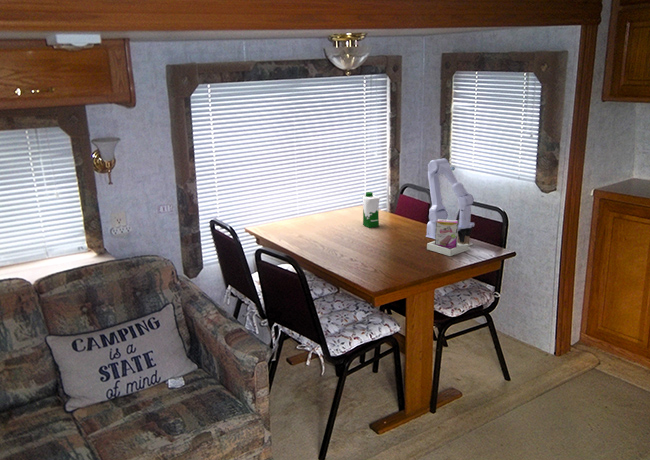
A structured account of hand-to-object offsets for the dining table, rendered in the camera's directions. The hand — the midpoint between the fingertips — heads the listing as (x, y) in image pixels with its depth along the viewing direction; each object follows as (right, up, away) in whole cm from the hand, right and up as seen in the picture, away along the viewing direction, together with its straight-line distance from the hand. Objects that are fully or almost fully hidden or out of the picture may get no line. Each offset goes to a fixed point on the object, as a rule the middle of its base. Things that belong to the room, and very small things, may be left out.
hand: (463, 241), depth 322 cm
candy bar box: (-11, -5, -9) cm, 15 cm away
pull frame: (-6, -3, -5) cm, 9 cm away
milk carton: (-47, +8, +38) cm, 61 cm away
